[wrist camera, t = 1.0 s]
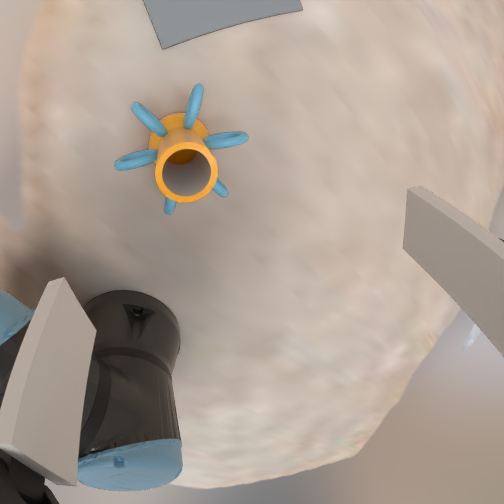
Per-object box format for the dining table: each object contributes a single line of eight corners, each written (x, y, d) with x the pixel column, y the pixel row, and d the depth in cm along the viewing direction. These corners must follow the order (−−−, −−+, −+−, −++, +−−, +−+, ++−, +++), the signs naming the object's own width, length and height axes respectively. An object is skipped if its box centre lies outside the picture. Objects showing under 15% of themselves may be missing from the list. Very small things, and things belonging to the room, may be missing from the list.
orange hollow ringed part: (250, 144, 34) (304, 181, 22) (183, 207, 36) (197, 279, 23) (175, 66, 28) (182, 46, 15) (105, 137, 30) (65, 170, 17)
